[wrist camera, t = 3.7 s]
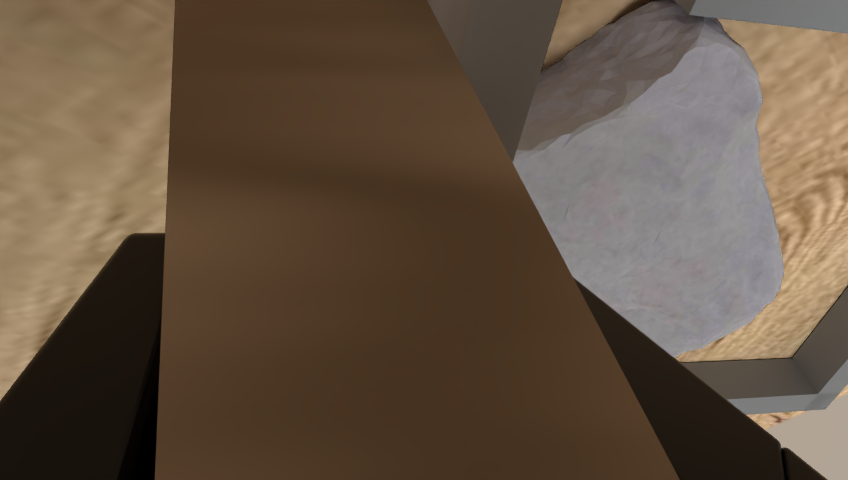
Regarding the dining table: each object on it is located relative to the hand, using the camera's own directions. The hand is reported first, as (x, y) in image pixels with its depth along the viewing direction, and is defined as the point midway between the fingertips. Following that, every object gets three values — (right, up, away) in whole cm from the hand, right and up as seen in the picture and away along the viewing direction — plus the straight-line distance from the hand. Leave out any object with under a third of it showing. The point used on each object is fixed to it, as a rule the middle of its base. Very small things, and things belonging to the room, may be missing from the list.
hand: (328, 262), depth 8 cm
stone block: (+6, +2, +17) cm, 18 cm away
